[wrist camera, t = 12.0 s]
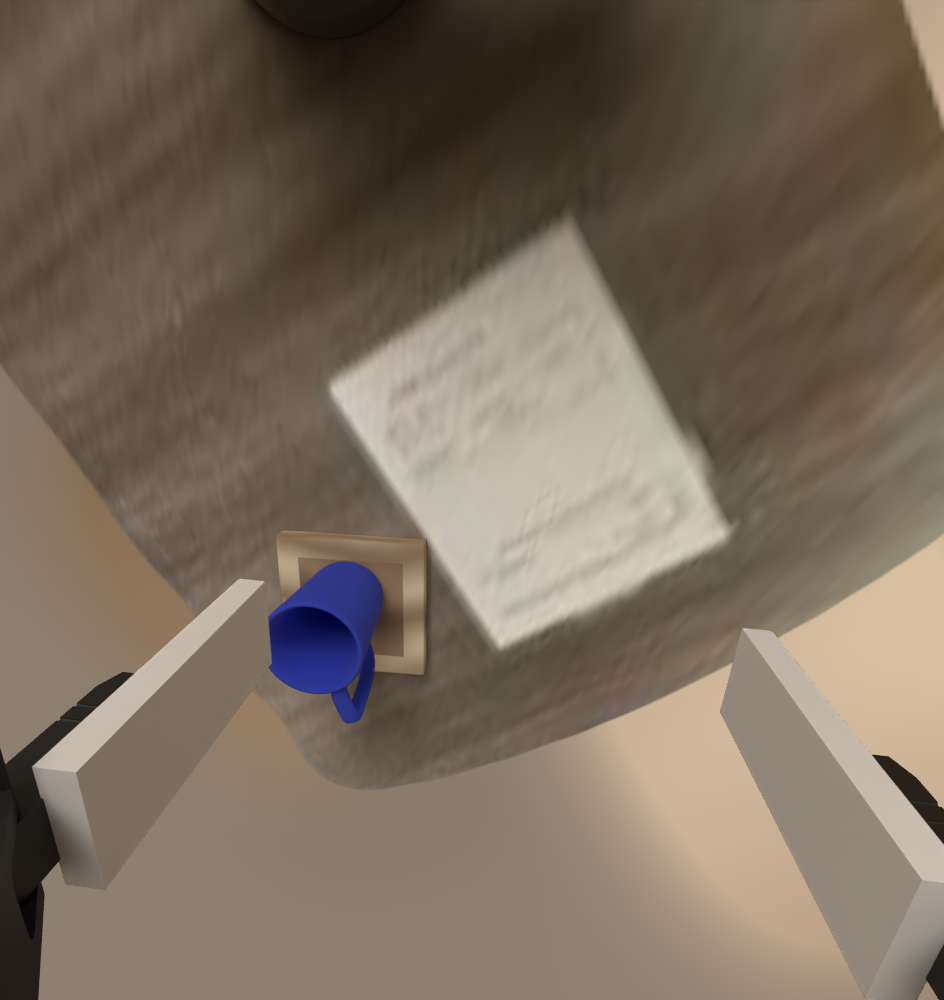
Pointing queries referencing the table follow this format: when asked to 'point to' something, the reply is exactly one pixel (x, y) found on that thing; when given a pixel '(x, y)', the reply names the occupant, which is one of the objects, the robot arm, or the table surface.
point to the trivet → (397, 573)
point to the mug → (329, 635)
